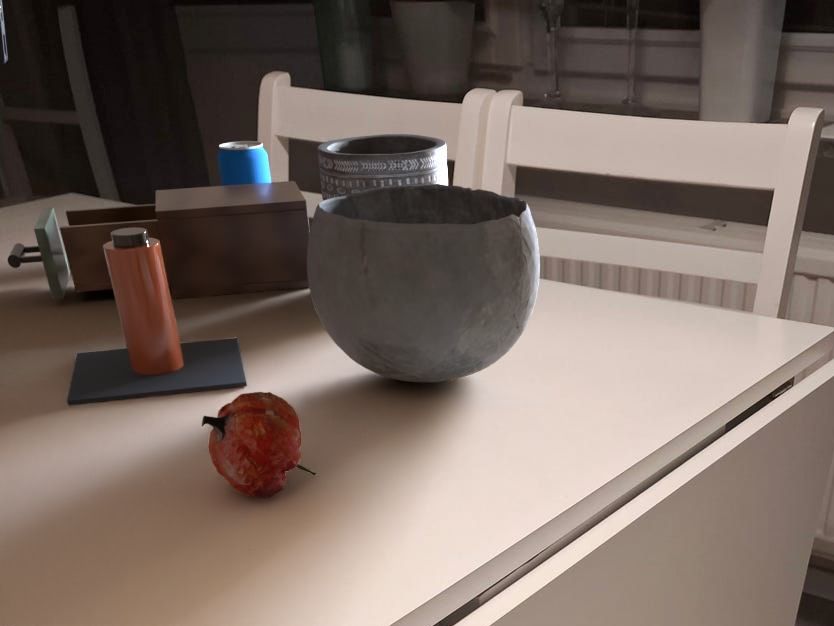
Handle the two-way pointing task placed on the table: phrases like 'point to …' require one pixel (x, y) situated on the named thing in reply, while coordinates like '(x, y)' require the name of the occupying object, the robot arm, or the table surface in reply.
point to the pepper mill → (143, 301)
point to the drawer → (82, 245)
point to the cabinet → (234, 238)
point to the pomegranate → (255, 443)
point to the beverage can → (243, 163)
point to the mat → (115, 379)
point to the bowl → (423, 278)
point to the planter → (380, 163)
